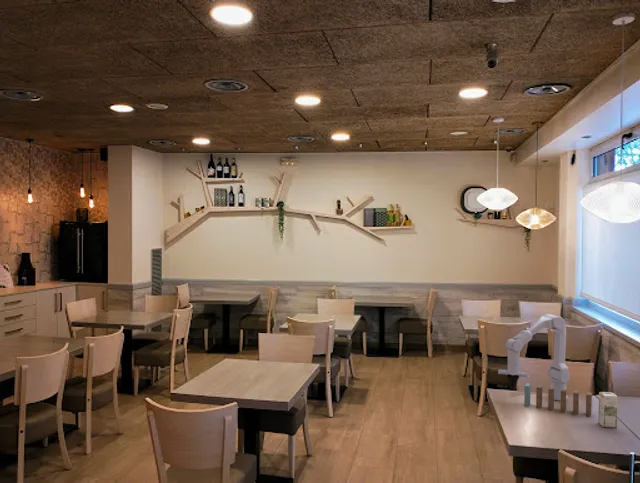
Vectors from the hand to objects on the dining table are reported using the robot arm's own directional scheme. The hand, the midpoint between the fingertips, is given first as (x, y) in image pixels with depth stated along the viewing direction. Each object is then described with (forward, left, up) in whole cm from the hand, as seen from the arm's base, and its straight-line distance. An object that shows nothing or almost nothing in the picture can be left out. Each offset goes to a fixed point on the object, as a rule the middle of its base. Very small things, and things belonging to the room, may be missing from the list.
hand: (513, 389), depth 274 cm
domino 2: (0, +12, -6) cm, 14 cm away
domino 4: (0, +23, -6) cm, 24 cm away
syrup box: (+11, +43, -7) cm, 45 cm away
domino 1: (0, +7, -6) cm, 9 cm away
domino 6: (0, +34, -6) cm, 35 cm away
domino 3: (0, +18, -6) cm, 19 cm away
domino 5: (0, +29, -6) cm, 30 cm away
